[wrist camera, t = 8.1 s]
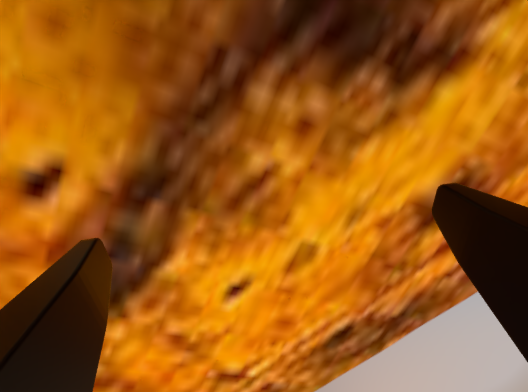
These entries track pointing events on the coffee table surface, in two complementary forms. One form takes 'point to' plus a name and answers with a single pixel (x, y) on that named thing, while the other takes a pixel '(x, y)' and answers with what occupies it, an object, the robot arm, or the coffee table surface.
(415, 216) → the coffee table surface
